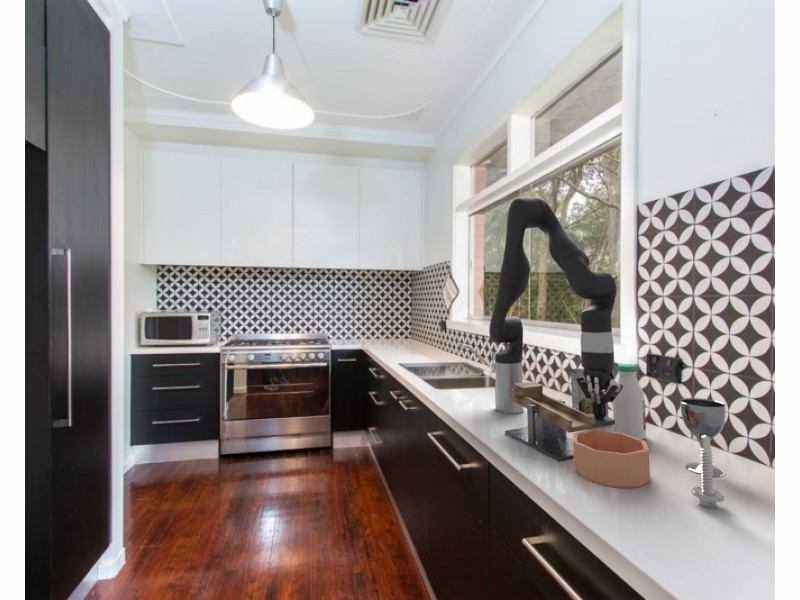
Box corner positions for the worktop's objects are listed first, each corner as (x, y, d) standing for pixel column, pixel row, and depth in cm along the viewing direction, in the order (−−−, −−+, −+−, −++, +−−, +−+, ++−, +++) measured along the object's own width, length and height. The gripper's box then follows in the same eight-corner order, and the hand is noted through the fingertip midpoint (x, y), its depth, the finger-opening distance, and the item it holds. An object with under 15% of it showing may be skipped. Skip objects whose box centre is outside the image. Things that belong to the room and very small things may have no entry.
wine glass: (717, 481, 81) (714, 409, 81) (675, 467, 88) (672, 401, 88) (735, 472, 84) (732, 403, 85) (694, 459, 91) (691, 396, 92)
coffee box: (600, 417, 127) (598, 367, 127) (609, 423, 120) (607, 371, 120) (571, 417, 128) (569, 368, 128) (578, 423, 121) (576, 371, 121)
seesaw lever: (506, 398, 115) (507, 381, 114) (548, 393, 120) (549, 377, 119) (566, 433, 92) (567, 412, 92) (614, 424, 97) (616, 404, 97)
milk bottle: (640, 443, 103) (637, 368, 103) (609, 436, 109) (607, 365, 109) (650, 436, 108) (647, 364, 108) (620, 430, 114) (617, 361, 114)
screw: (690, 506, 71) (692, 495, 75) (725, 515, 68) (724, 503, 72) (688, 435, 71) (690, 428, 75) (722, 441, 68) (722, 433, 72)
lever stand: (504, 434, 113) (503, 396, 113) (538, 428, 117) (537, 392, 117) (559, 462, 93) (557, 416, 93) (597, 454, 97) (596, 410, 97)
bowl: (560, 465, 90) (559, 435, 90) (607, 456, 95) (606, 427, 95) (613, 493, 77) (611, 458, 77) (664, 480, 82) (663, 447, 82)
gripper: (566, 348, 104) (568, 412, 104) (607, 353, 91) (610, 426, 91) (588, 346, 106) (590, 409, 106) (631, 351, 94) (634, 422, 94)
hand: (599, 417), depth 99 cm, fingers closed
